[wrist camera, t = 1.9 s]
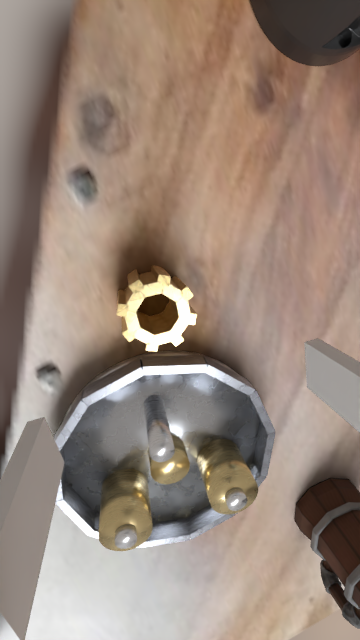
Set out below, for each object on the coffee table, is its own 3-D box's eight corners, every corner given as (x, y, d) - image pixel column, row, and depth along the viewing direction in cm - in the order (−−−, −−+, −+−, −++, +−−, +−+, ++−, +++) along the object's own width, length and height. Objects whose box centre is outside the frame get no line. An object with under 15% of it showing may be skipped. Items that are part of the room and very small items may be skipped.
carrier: (128, 310, 32) (131, 344, 24) (294, 402, 41) (342, 451, 32) (19, 486, 37) (-12, 569, 28) (190, 535, 46) (207, 610, 37)
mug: (308, 476, 47) (388, 584, 33) (366, 479, 50) (462, 579, 36) (275, 546, 51) (334, 669, 37) (331, 545, 54) (405, 658, 40)
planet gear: (140, 253, 31) (144, 260, 25) (195, 287, 33) (210, 301, 28) (106, 310, 32) (103, 328, 26) (161, 339, 34) (169, 362, 29)
